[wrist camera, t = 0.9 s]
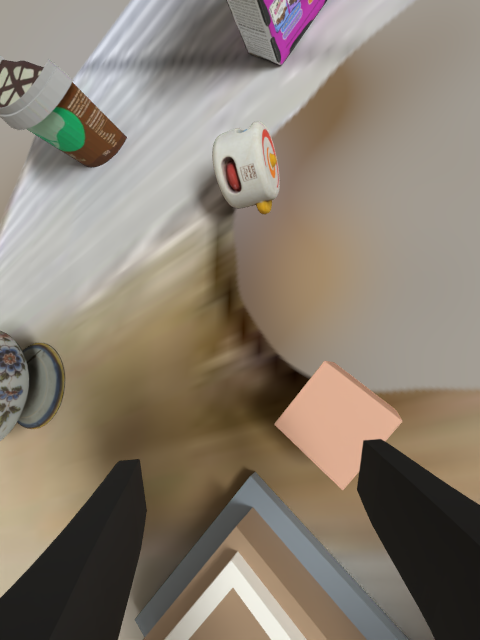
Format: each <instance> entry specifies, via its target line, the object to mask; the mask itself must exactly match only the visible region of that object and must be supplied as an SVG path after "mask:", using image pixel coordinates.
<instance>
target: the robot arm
mask: <svg viewBox="0 0 480 640" xmlns="http://www.w3.org/2000/svg"><path fill="white" fill-rule="evenodd" d="M357 491H358V493H359V496H360V498H361V500H362V503H363V505H364V508H365V510H366V512H367V514H368V517H369V519H370V521H371V523H372V525H373V527H374V529H375V531H376V533H377V534H378V536H379V538H380V540H381V542H382V543H383V545H384V547H385V549H386V551H387V552H388V554H389V556H390V558H391V559H392V561H393V563H394V565H395V566H396V568H397V570H398V572H399V573H400V575H401V577H402V579H403V581H404V582H405V584H406V586H407V588H408V589H409V591H410V593H411V595H412V596H413V598H414V600H415V602H416V604H417V605H418V607H419V609H420V611H421V613H422V615H423V616H424V618H425V620H426V622H427V624H428V626H429V628H430V630H431V632H432V634H433V636H434V638H435V640H480V505H479V504H477V503H476V502H474V501H472V500H471V499H469V498H468V497H466V496H465V495H463V494H462V493H460V492H459V491H457V490H455V489H454V488H452V487H451V486H449V485H448V484H446V483H445V482H443V481H442V480H441V479H439V478H438V477H436V476H435V475H433V474H432V473H430V472H429V471H427V470H426V469H424V468H423V467H422V466H420V465H419V464H417V463H416V462H414V461H413V460H411V459H410V458H409V457H407V456H406V455H404V454H403V453H401V452H400V451H398V450H397V449H396V448H394V447H393V446H391V445H390V444H388V443H387V442H385V441H383V440H382V439H374V440H363V446H362V454H361V462H360V470H359V478H358V486H357ZM146 512H147V509H146V502H145V495H144V487H143V480H142V473H141V466H140V459H136V460H124V461H119V462H118V463H117V464H116V465H115V466H114V468H113V469H112V470H111V471H110V473H109V474H108V475H107V477H106V478H105V479H104V480H103V482H102V483H101V484H100V486H99V487H98V488H97V489H96V491H95V492H94V493H93V494H92V496H91V497H90V498H89V499H88V501H87V502H86V503H85V504H84V506H83V507H82V508H81V509H80V510H79V512H78V513H77V514H76V515H75V516H74V518H73V519H72V520H71V521H70V523H69V524H68V525H67V526H66V527H65V528H64V530H63V531H62V532H61V533H60V534H59V535H58V537H57V538H56V539H55V540H54V541H53V542H52V543H51V544H50V546H49V547H48V548H47V549H46V550H45V551H44V552H43V553H42V554H41V556H40V557H39V558H38V559H37V560H36V561H35V562H34V563H33V564H32V566H31V567H30V568H29V569H28V570H27V571H26V572H25V573H24V574H23V575H22V576H21V577H20V578H19V579H18V580H17V581H16V583H15V584H14V585H13V586H12V587H11V588H10V589H9V590H8V591H7V592H6V593H5V594H4V595H3V596H2V597H1V598H0V640H118V637H119V633H120V629H121V625H122V621H123V617H124V613H125V610H126V606H127V602H128V598H129V594H130V590H131V586H132V582H133V578H134V574H135V570H136V566H137V562H138V558H139V554H140V550H141V545H142V539H143V532H144V526H145V519H146Z"/></svg>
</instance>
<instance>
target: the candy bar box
mask: <svg viewBox="0 0 480 640" xmlns="http://www.w3.org/2000/svg"><path fill="white" fill-rule="evenodd" d="M326 1H327V0H227V2H228V5H229V7H230V10H231V12H232V15H233V17H234V20H235V22H236V24H237V27H238V29H239V32H240V34H241V36H242V39H243V41H244V44H245V46H246V48H247V51H248V53H250V54H251V55H254V56H256V57H259V58H263V59H266V60H268V61H270V62H273V63H276V64H278V65H282V64H283V63H284V61H285V60H286V58H287V57H288V56H289V54H290V53H291V51H292V50H293V49H294V47H295V46H296V44H297V43H298V41H299V40H300V38H301V37H302V36H303V34H304V33H305V31H306V30H307V28H308V27H309V25H310V24H311V23H312V21H313V20H314V18H315V17H316V15H317V14H318V12H319V11H320V10H321V8H322V7H323V5H324V4H325V2H326Z"/></svg>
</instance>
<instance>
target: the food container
mask: <svg viewBox="0 0 480 640" xmlns="http://www.w3.org/2000/svg"><path fill="white" fill-rule="evenodd" d="M72 81H73V79H72V78H70V77H69V76H68V75H67V74H66V73H65V72H64V71H63V70H61V69H60V68H59V67H58V66H56V65H55V64H54V63H53V62H52V61H51V60H49V59H48V61H47V63H46V65H45V66H44V67H41V66H37V65H35V64H32V63H29V62H26V61H18V62H13V61H7V60H5V59H4V58H3V57H1V56H0V117H1V118H2V119H3V120H4V121H5V122H6V123H7V124H8V125H9V126H11V127H12V128H14V129H18V130H24V129H27V130H29V131H30V132H32V133H34V134H35V135H37V136H38V137H40V138H42V139H43V140H45V141H46V142H48V143H50V144H51V145H53V146H55V147H56V148H58V149H59V150H61V151H63V152H64V153H66V154H68V155H69V156H71V157H72V158H74V159H76V160H77V161H79V162H80V163H82V164H84V165H85V166H88V167H97V166H100V165H102V164H104V163H106V162H107V161H109V160H110V159H111V158H112V157H113V156H114V155H115V154H116V153H117V152H118V151H119V150H120V148H121V147H122V145H123V144H124V142H125V140H126V138H127V137H126V136H125V135H124V134H123V133H122V132H121V131H120V130H119V129H118V128H117V127H116V126H115V125H114V124H113V123H112V122H111V121H110V120H109V119H108V118H107V117H106V116H105V115H104V114H103V113H102V112H101V111H100V110H99V109H98V108H97V107H96V106H95V105H94V104H93V103H92V101H91V100H90V99H89V98H88V97H87V96H86V95H85V94H84V93H83V92H82V91H81V90H80V89H79V88H78V87H77V86H76V85H75V84H74V83H73V82H72Z"/></svg>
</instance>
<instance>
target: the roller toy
mask: <svg viewBox="0 0 480 640" xmlns="http://www.w3.org/2000/svg"><path fill="white" fill-rule="evenodd" d="M212 157H213V166H214V171H215V175H216V179H217V182H218V185H219V187H220V190H221V192H222V194H223V196H224V198H225V199H226V201H227V202H228V203H229V204H230V205H231V206H232V207H234V208H237V209H239V208H244V207H249V206H253V205H256V206H257V208H258V210H259V212H260V213H262V214H267V213H269V212H270V210H271V206H272V200H273V199H275V198H276V197H277V195H278V192H279V185H280V184H279V181H280V180H279V169H278V163H277V157H276V153H275V149H274V145H273V142H272V139H271V136H270V133H269V131H268V129H267V128H266V126H265V125H264V124H263V123H261V122H258V121H257V122H254V123H252V125H251V126H250V128H249V129H246V130H243V129H240V128H236V129H233V130H231V131H228V132H226V133H223V134H221V135H219V136H218V137H217V138H216V140H215V142H214V145H213V152H212Z"/></svg>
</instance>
